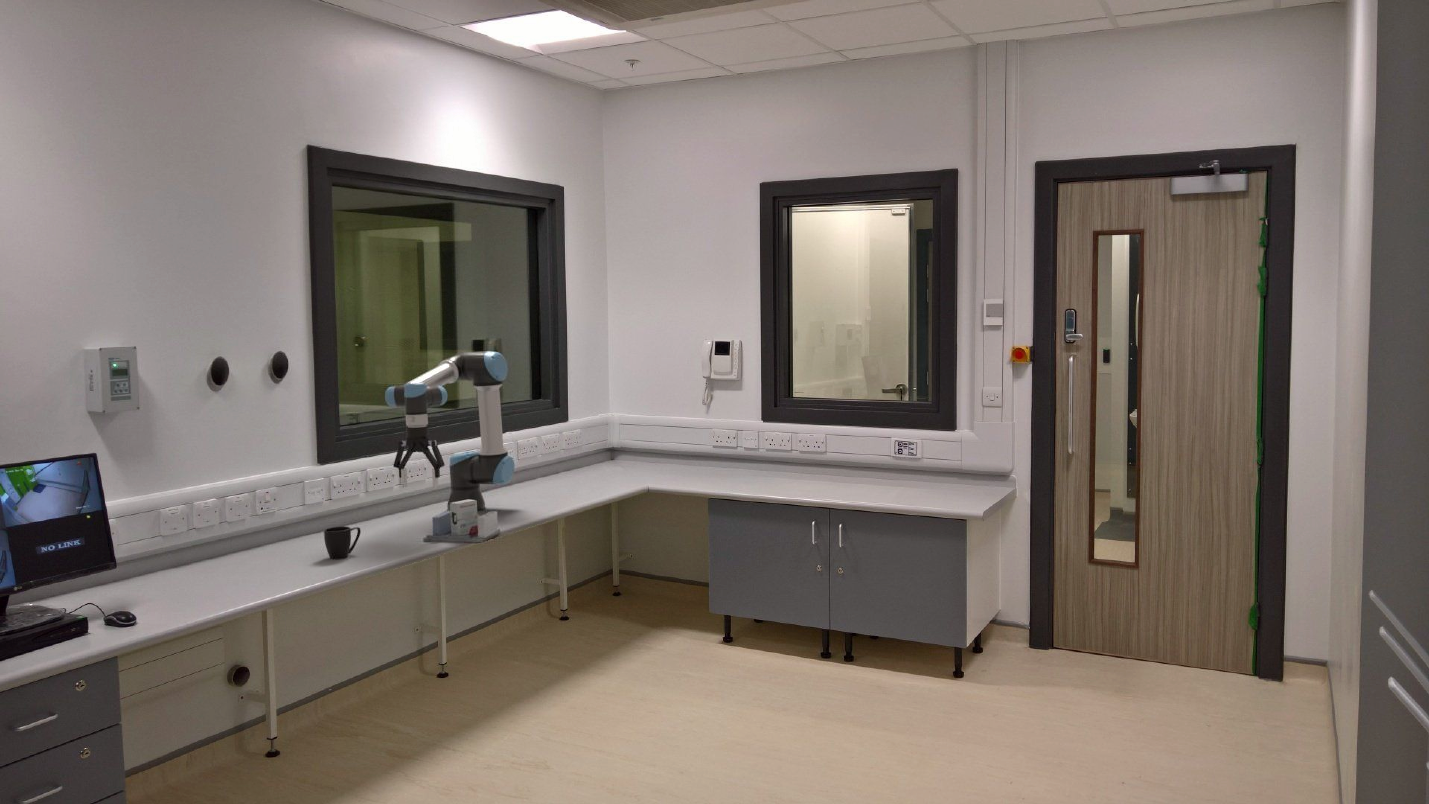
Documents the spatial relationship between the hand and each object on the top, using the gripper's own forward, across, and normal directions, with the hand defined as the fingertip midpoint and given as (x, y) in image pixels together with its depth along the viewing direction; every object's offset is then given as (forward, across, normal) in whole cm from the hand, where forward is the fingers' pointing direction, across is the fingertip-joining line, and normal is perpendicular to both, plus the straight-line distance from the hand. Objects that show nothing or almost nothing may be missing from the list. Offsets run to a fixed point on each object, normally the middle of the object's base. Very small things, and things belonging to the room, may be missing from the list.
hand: (420, 486), depth 359 cm
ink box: (+17, +16, 0) cm, 24 cm away
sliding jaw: (+17, +8, 0) cm, 19 cm away
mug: (+18, -13, -31) cm, 38 cm away
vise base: (+18, +15, 0) cm, 24 cm away
